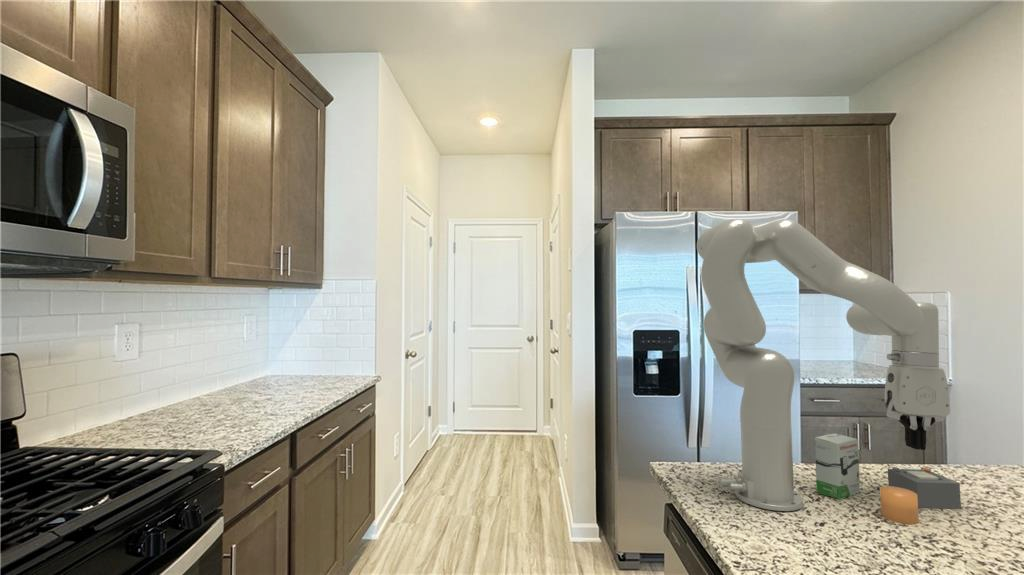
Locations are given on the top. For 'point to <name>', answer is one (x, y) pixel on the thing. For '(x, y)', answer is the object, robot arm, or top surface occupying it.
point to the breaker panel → (928, 488)
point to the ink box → (837, 465)
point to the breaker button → (922, 475)
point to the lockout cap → (899, 505)
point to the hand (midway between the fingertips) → (915, 447)
